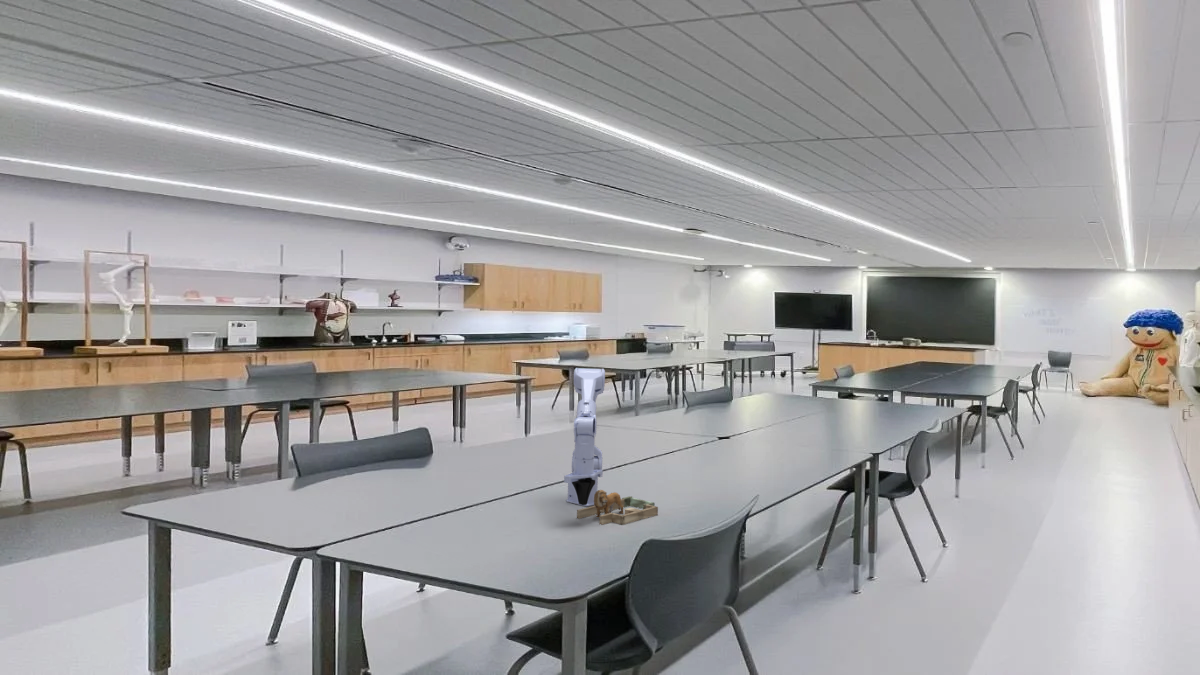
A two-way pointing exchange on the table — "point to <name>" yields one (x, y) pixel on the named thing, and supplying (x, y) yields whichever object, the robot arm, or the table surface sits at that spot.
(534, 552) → the table surface
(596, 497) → the lion figurine
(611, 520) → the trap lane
